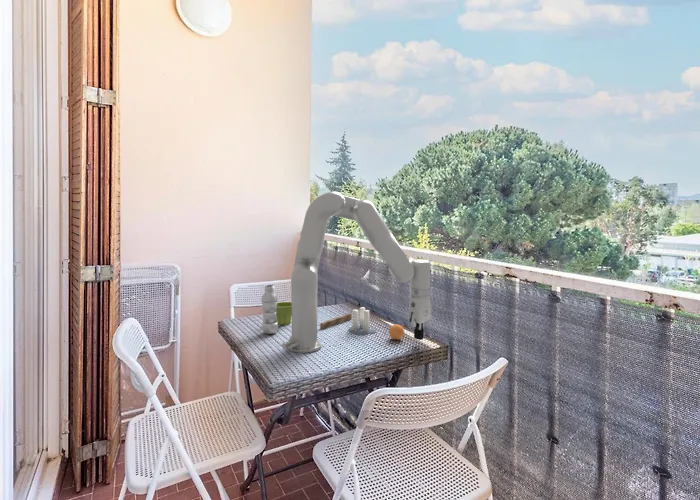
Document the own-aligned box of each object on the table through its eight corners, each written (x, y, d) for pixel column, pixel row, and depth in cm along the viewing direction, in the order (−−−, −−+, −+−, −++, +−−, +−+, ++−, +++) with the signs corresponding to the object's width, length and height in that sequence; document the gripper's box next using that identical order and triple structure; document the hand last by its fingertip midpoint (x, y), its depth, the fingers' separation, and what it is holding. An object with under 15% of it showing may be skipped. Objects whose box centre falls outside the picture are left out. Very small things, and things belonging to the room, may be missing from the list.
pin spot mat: (365, 337, 157) (365, 336, 157) (342, 330, 165) (342, 330, 165) (381, 329, 167) (381, 329, 167) (359, 324, 174) (359, 323, 174)
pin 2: (362, 329, 167) (363, 309, 166) (358, 328, 169) (358, 308, 168) (365, 327, 169) (366, 307, 168) (361, 326, 171) (361, 306, 170)
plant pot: (283, 327, 168) (283, 308, 167) (268, 323, 173) (268, 304, 172) (298, 322, 175) (298, 304, 174) (284, 319, 181) (284, 300, 180)
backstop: (322, 329, 166) (323, 323, 166) (320, 328, 167) (320, 323, 167) (351, 319, 182) (351, 313, 182) (348, 318, 183) (348, 313, 183)
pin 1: (355, 332, 163) (355, 311, 162) (351, 330, 165) (351, 310, 164) (359, 330, 165) (359, 310, 164) (354, 329, 167) (354, 309, 166)
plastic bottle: (274, 336, 157) (274, 288, 154) (259, 335, 158) (258, 287, 156) (280, 331, 163) (280, 284, 161) (265, 330, 164) (265, 284, 162)
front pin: (366, 332, 163) (367, 311, 162) (362, 331, 164) (362, 310, 163) (370, 331, 165) (370, 310, 164) (365, 330, 166) (365, 309, 165)
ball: (399, 342, 151) (399, 328, 151) (386, 339, 155) (386, 324, 154) (406, 338, 156) (407, 324, 155) (393, 335, 160) (394, 321, 159)
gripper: (419, 297, 139) (418, 346, 141) (437, 290, 151) (436, 335, 153) (401, 294, 144) (400, 342, 146) (420, 287, 155) (419, 331, 157)
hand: (418, 338), depth 149 cm, fingers closed
